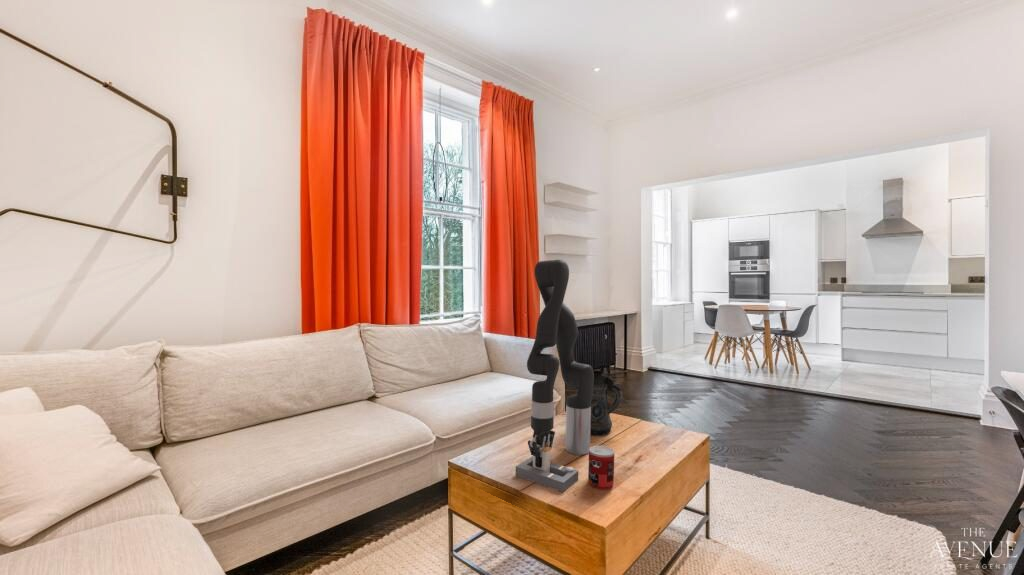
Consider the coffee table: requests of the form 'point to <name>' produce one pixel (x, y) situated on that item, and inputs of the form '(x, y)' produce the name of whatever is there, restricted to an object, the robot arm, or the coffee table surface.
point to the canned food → (601, 467)
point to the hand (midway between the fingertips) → (541, 464)
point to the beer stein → (603, 404)
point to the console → (548, 475)
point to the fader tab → (544, 459)
